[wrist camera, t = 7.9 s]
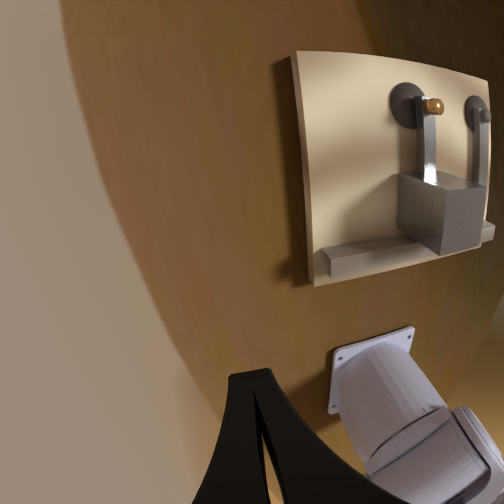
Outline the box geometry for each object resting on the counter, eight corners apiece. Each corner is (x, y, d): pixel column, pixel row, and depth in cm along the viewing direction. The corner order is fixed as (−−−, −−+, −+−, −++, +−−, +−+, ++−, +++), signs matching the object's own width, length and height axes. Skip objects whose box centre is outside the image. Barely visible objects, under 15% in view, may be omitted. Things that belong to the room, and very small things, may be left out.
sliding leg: (436, 221, 18) (478, 246, 14) (397, 228, 18) (439, 256, 14) (437, 99, 14) (487, 102, 10) (395, 94, 14) (445, 92, 10)
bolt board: (472, 241, 21) (492, 254, 19) (308, 277, 20) (322, 300, 17) (477, 81, 15) (502, 81, 13) (290, 55, 14) (305, 43, 11)
